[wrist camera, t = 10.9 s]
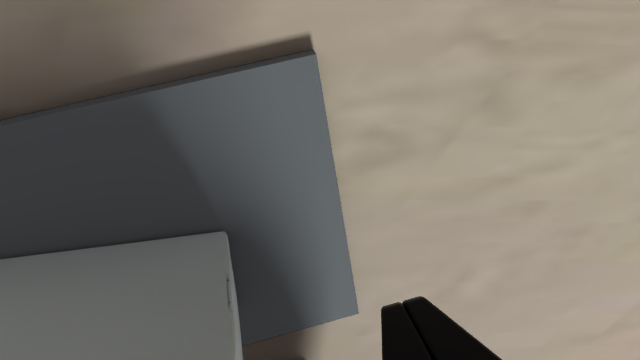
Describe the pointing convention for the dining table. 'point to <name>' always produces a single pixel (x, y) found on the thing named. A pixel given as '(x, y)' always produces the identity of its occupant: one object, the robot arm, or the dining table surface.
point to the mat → (194, 184)
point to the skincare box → (122, 302)
